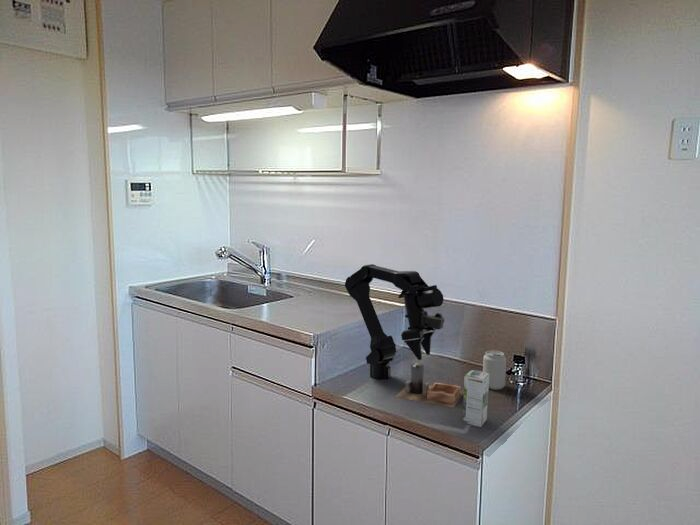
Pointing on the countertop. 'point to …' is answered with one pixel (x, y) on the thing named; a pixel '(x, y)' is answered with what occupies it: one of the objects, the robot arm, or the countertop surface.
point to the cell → (417, 378)
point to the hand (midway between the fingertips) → (424, 357)
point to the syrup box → (475, 397)
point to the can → (495, 369)
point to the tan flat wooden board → (434, 394)
